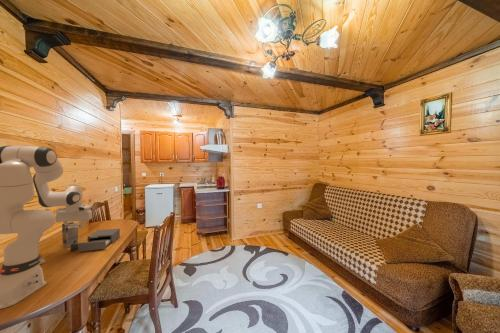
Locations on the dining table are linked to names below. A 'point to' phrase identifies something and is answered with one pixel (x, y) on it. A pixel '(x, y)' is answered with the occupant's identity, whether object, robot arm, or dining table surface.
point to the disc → (73, 225)
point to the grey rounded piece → (73, 247)
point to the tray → (93, 245)
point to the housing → (105, 235)
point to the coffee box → (69, 235)
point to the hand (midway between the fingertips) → (74, 227)
